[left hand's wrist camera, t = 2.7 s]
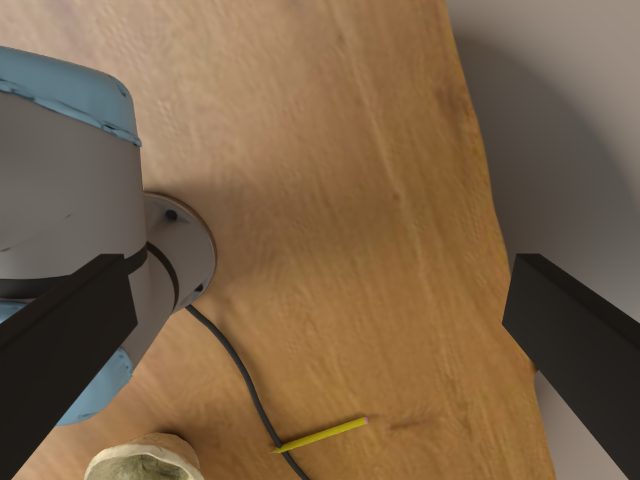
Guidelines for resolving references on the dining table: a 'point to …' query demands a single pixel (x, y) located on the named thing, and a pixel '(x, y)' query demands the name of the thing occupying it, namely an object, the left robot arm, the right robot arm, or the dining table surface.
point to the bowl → (147, 460)
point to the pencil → (321, 434)
